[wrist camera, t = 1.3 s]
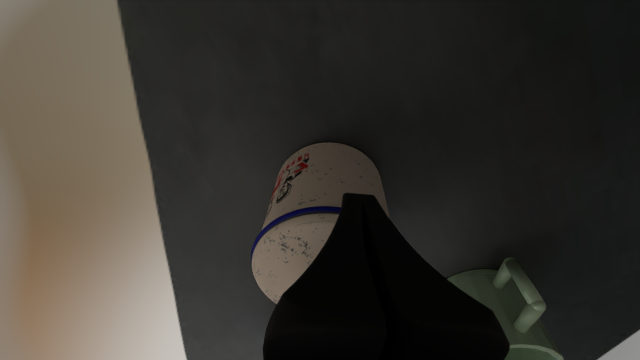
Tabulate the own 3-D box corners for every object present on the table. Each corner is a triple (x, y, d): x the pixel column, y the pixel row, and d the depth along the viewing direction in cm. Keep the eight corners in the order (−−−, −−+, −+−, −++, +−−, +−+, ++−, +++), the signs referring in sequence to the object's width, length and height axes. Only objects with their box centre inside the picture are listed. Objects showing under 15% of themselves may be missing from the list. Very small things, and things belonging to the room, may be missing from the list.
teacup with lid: (288, 122, 22) (252, 232, 12) (402, 156, 23) (450, 281, 14) (259, 235, 29) (220, 365, 19) (349, 257, 30) (356, 391, 20)
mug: (498, 324, 35) (534, 399, 29) (421, 317, 35) (439, 391, 29) (552, 247, 28) (614, 324, 22) (455, 239, 28) (490, 314, 22)
